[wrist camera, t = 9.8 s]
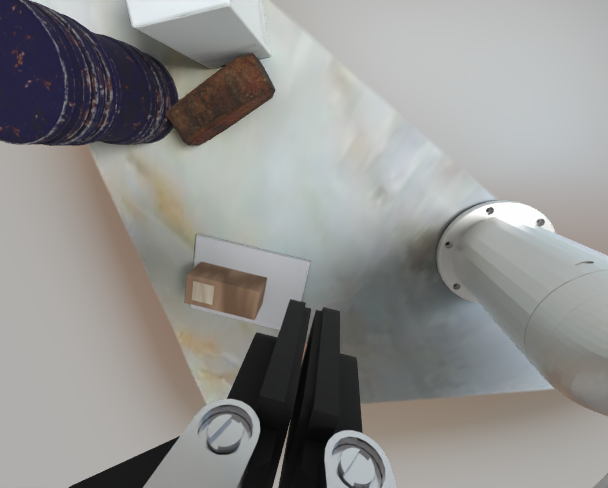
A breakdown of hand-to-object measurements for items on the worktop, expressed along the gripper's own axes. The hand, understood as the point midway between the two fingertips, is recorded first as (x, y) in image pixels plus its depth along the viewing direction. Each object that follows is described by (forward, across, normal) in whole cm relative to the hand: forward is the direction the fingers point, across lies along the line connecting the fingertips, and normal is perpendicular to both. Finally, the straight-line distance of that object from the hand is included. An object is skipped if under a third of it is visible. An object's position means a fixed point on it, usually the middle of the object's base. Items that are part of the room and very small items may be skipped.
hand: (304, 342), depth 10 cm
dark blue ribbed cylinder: (+27, +24, -6) cm, 37 cm away
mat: (+27, +8, +14) cm, 32 cm away
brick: (+28, +13, -8) cm, 31 cm away
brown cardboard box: (+24, +6, +14) cm, 29 cm away
